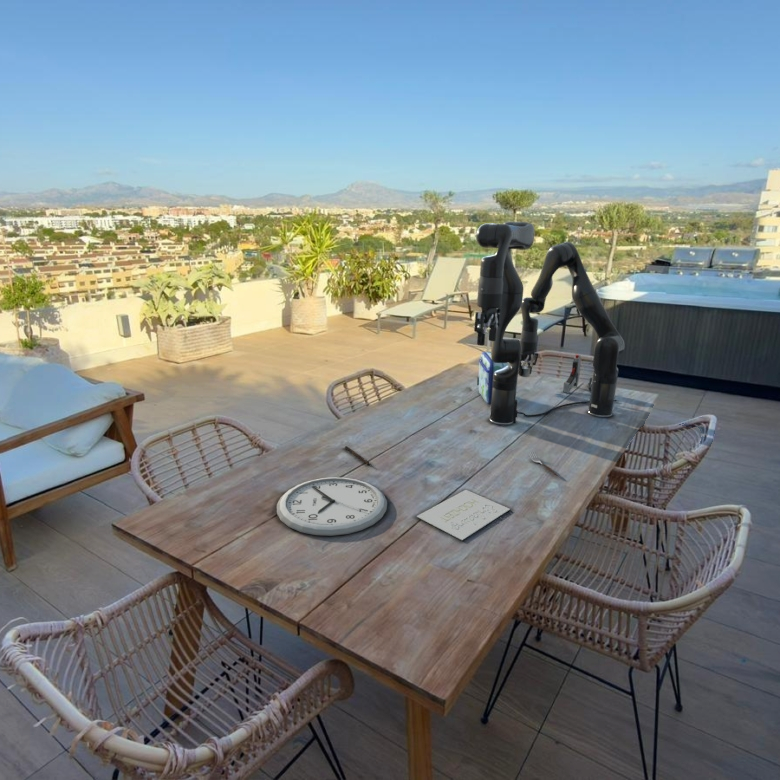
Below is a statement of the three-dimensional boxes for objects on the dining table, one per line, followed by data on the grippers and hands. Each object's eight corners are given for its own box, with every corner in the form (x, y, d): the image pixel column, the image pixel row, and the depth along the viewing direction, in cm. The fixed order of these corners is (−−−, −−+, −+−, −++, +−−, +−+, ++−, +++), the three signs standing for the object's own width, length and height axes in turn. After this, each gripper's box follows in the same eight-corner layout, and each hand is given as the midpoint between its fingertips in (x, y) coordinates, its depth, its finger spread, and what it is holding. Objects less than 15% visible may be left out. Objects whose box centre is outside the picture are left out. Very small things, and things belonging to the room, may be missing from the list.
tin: (517, 375, 252) (518, 366, 251) (524, 374, 255) (525, 365, 253) (524, 377, 249) (525, 369, 247) (531, 376, 251) (532, 368, 250)
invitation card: (465, 489, 152) (510, 508, 142) (465, 490, 152) (510, 509, 142) (416, 515, 137) (462, 539, 127) (416, 516, 138) (462, 540, 127)
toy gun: (565, 361, 240) (576, 353, 251) (562, 394, 245) (573, 384, 257) (571, 362, 238) (581, 354, 249) (567, 395, 244) (578, 385, 255)
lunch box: (475, 390, 246) (478, 346, 240) (498, 390, 246) (501, 347, 240) (484, 408, 221) (487, 360, 215) (509, 409, 221) (513, 360, 215)
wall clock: (392, 527, 129) (268, 531, 127) (391, 533, 130) (269, 537, 127) (383, 473, 158) (282, 475, 155) (383, 478, 158) (282, 480, 156)
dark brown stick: (344, 448, 179) (344, 445, 179) (346, 448, 179) (346, 445, 179) (367, 464, 167) (367, 462, 167) (368, 464, 167) (368, 461, 167)
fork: (554, 478, 160) (554, 472, 160) (527, 457, 175) (528, 451, 174) (561, 477, 161) (562, 471, 160) (534, 456, 175) (535, 450, 175)
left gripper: (492, 294, 154) (488, 348, 159) (510, 290, 165) (506, 340, 170) (469, 292, 158) (465, 345, 163) (488, 288, 169) (485, 337, 174)
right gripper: (523, 343, 239) (520, 378, 245) (545, 340, 247) (541, 374, 252) (511, 340, 245) (508, 374, 251) (533, 337, 253) (529, 371, 258)
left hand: (486, 342), depth 166 cm, fingers open, 8 cm apart
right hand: (524, 374), depth 251 cm, fingers closed on tin, 4 cm apart
